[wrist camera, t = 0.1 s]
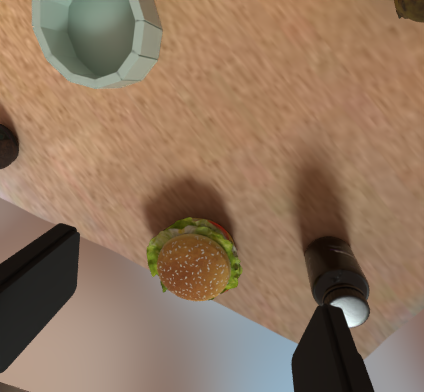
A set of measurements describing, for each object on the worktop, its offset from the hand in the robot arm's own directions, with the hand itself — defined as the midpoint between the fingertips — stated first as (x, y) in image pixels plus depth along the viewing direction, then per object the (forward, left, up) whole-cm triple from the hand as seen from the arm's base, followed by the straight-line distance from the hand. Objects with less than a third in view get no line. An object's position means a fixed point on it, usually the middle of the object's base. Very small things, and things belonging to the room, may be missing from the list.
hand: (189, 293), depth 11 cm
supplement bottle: (+13, +17, -31) cm, 38 cm away
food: (+18, -2, -32) cm, 36 cm away
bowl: (-9, -20, -31) cm, 38 cm away
